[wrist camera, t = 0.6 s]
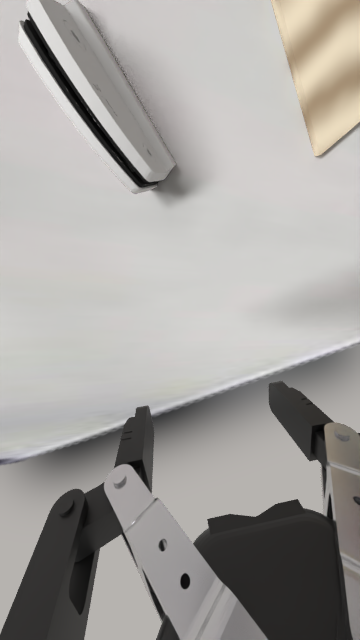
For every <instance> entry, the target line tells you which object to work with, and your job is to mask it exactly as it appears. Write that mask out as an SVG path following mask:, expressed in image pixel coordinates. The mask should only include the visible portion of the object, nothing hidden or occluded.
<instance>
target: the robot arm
mask: <svg viewBox="0 0 360 640" xmlns="http://www.w3.org/2000/svg"><path fill="white" fill-rule="evenodd" d="M269 405H270V408H271V411H272V412H273V414H274V415H275V416H276V417H277V419H278V420H279V422H280V423H281V424H282V425H283V427H284V428H285V429H286V431H287V432H288V433H289V435H290V436H291V437H292V439H293V440H294V441H295V443H296V444H297V445H298V447H299V448H300V449H301V451H302V452H303V453H304V454H305V456H306V457H307V459H308V460H309V461H313V460H318V461H319V462H320V463H321V480H322V496H323V514H321V513H318V512H315V511H313V510H309V509H304V508H303V507H302V506H301V504H300V503H299V501H298V499H296V500H292V501H287V502H283V503H278V504H275V505H274V506H272V507H271V508H269V509H268V510H266V511H265V512H263V513H262V514H260V515H259V516H256V517H251V516H242V515H233V514H228V515H224V516H219V517H215V518H210V519H207V520H208V526H209V528H208V529H207V530H205V531H204V532H203V533H202V534H201V535H200V536H199V537H198V538H197V539H196V540H195V542H194V543H192V542H191V541H190V539H189V538H188V537H187V535H186V534H185V532H184V531H183V530H182V528H181V527H180V526H179V524H178V523H177V522H176V520H175V519H174V518H173V516H172V515H171V514H170V512H169V511H168V510H167V508H166V507H165V505H164V504H163V503H162V501H161V500H160V499H158V498H156V499H155V498H154V497H153V495H152V470H153V447H154V427H153V422H152V418H151V413H150V409H149V406H143V407H137V408H136V413H135V417H131V418H129V419H128V420H127V422H126V423H125V425H124V428H123V432H122V436H121V441H120V445H119V449H118V454H117V458H116V462H115V466H114V469H113V470H112V471H111V472H110V473H109V474H108V476H107V478H106V480H105V482H104V483H102V484H101V485H99V486H98V487H96V488H94V489H92V490H90V491H89V492H87V493H85V494H84V493H83V492H82V490H80V489H73V490H70V491H68V492H67V493H65V494H64V495H62V496H61V497H60V498H59V499H58V500H57V501H56V503H55V504H54V506H53V507H52V509H51V511H50V513H49V515H48V518H47V520H46V523H45V525H44V528H43V530H42V533H41V535H40V538H39V540H38V543H37V545H36V547H35V550H34V552H33V555H32V557H31V560H30V562H29V565H28V567H27V570H26V572H25V575H24V577H23V579H22V582H21V585H20V587H19V589H18V592H17V594H16V597H15V599H14V602H13V604H12V607H11V609H10V612H9V614H8V617H7V619H6V622H5V624H4V626H3V629H2V632H1V634H0V640H84V636H85V631H86V625H87V620H88V614H89V608H90V602H91V597H92V591H93V585H94V579H95V573H96V568H97V562H98V557H99V551H100V548H101V547H102V546H104V545H105V544H106V543H108V542H110V541H111V540H113V539H114V538H116V537H118V536H119V535H122V538H123V540H124V542H125V544H126V546H127V548H128V550H129V552H130V555H131V557H132V559H133V561H134V563H135V565H136V567H137V569H138V572H139V574H140V576H141V578H142V580H143V583H144V585H145V588H146V590H147V592H148V594H149V597H150V599H151V601H152V603H153V605H154V607H155V610H156V612H157V614H158V616H159V618H160V620H161V622H162V625H161V628H160V630H159V633H158V636H157V639H156V640H360V433H357V432H356V431H354V430H353V429H352V428H350V427H348V426H346V425H344V424H340V423H335V422H333V421H332V420H331V419H330V418H329V417H328V416H327V415H326V414H324V413H323V412H322V411H321V410H320V409H319V408H318V407H317V406H315V405H314V404H313V403H312V402H311V401H310V400H309V399H307V397H306V396H304V395H303V394H302V393H301V392H300V391H298V390H296V389H294V388H289V387H288V386H287V385H286V384H285V383H283V382H282V381H279V382H273V383H270V384H269Z"/></svg>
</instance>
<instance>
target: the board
mask: <svg viewBox="0 0 360 640" xmlns="http://www.w3.org/2000/svg"><path fill="white" fill-rule="evenodd" d="M271 2H272V6H273V9H274V13H275V16H276V20H277V23H278V27H279V30H280V34H281V37H282V41H283V45H284V48H285V52H286V55H287V59H288V62H289V66H290V69H291V73H292V77H293V80H294V84H295V87H296V91H297V94H298V98H299V101H300V105H301V109H302V112H303V116H304V119H305V123H306V126H307V130H308V133H309V137H310V141H311V144H312V148H313V151H314V155H315V156H319V155H321V154H323V153H324V152H325V151H326V150H327V149H328V148H330V147H331V146H332V145H333V144H334V143H335V142H337V141H338V140H339V139H340V138H341V137H342V136H344V135H345V134H346V133H347V132H348V131H350V130H351V129H352V128H353V127H354V126H355V125H357V124H358V123H359V122H360V0H271Z"/></svg>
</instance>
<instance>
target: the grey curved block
mask: <svg viewBox="0 0 360 640" xmlns="http://www.w3.org/2000/svg"><path fill="white" fill-rule="evenodd" d="M26 7H27V9H28V17H29V20H30V21H29V20H27V19H26V20H25V22H24V21H20V22H19V35H18V42H19V44H20V46H21V48H22V49H23V51H24V53H25V54H26V56H27V58H28V59H29V61H30V63H31V64H32V66H33V67H34V69H35V70H36V72H37V74H38V75H39V77H40V78H41V80H42V81H43V83H44V84H45V86H46V87H47V89H48V90H49V91H50V93H51V94H52V96H53V97H54V99H55V100H56V102H57V103H58V105H59V106H60V107H61V109H62V110H63V111H64V113H65V114H66V115H67V117H68V118H69V119H70V121H71V122H72V124H73V125H74V126H75V128H76V129H77V130H78V131H79V133H80V134H81V135H82V137H83V138H84V139H85V140H86V142H87V143H88V144H89V145H90V147H91V148H92V149H93V150H94V151H95V153H96V154H97V155H98V156H99V157H100V159H101V160H102V161H103V162H104V163H105V165H106V166H107V167H108V168H109V169H110V170H111V171H112V172H113V174H114V175H115V176H116V177H117V178H118V179H119V180H120V181H121V182H122V183H123V184H124V185H125V186H126V187H127V188H128V190H129V191H131V192H132V193H133V194H137V193H141V192H145V191H149V190H152V189H153V188H155V187H157V183H158V181H160V180H164V179H165V178H166V177H167V175H168V174H169V172H170V171H171V170H172V168H173V167H174V166H175V165H176V163H175V161H174V159H173V158H172V156H171V154H170V153H169V151H168V149H167V148H166V146H165V144H164V142H163V141H162V139H161V137H160V136H159V134H158V132H157V130H156V129H155V127H154V125H153V124H152V122H151V120H150V119H149V117H148V115H147V113H146V112H145V110H144V108H143V107H142V105H141V103H140V101H139V100H138V98H137V96H136V95H135V93H134V91H133V89H132V88H131V86H130V84H129V83H128V81H127V79H126V78H125V76H124V74H123V72H122V71H121V69H120V67H119V66H118V64H117V62H116V60H115V59H114V57H113V55H112V54H111V52H110V50H109V49H108V47H107V45H106V43H105V42H104V40H103V38H102V37H101V35H100V33H99V31H98V30H97V28H96V26H95V25H94V23H93V21H92V20H91V18H90V16H89V14H88V13H87V11H86V9H85V8H84V6H83V5H82V4H81V3H80V2H79V1H78V0H71V1H70V2H68V3H67V4H65V5H61V4H60V3H58V2H56V1H54V0H27V1H26Z"/></svg>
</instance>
